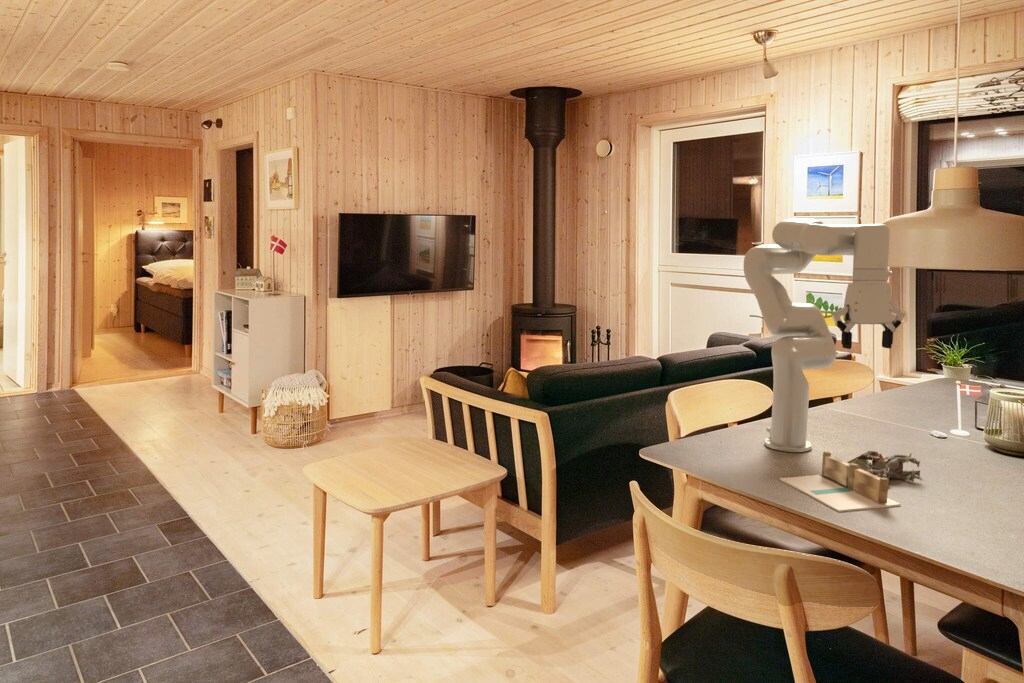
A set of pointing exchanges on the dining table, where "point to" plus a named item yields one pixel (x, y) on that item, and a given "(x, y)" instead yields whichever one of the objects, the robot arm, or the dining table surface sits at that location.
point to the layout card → (834, 493)
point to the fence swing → (871, 485)
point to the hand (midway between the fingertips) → (866, 348)
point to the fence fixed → (838, 470)
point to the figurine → (886, 465)
